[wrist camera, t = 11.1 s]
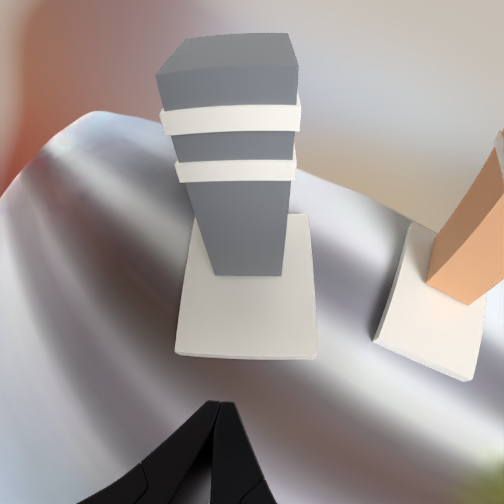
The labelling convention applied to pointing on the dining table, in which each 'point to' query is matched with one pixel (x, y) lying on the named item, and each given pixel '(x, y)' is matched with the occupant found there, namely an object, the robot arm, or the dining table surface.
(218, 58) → the post two bands
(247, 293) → the base plate
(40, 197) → the dining table surface
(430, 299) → the base plate
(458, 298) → the post one band
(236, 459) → the robot arm
